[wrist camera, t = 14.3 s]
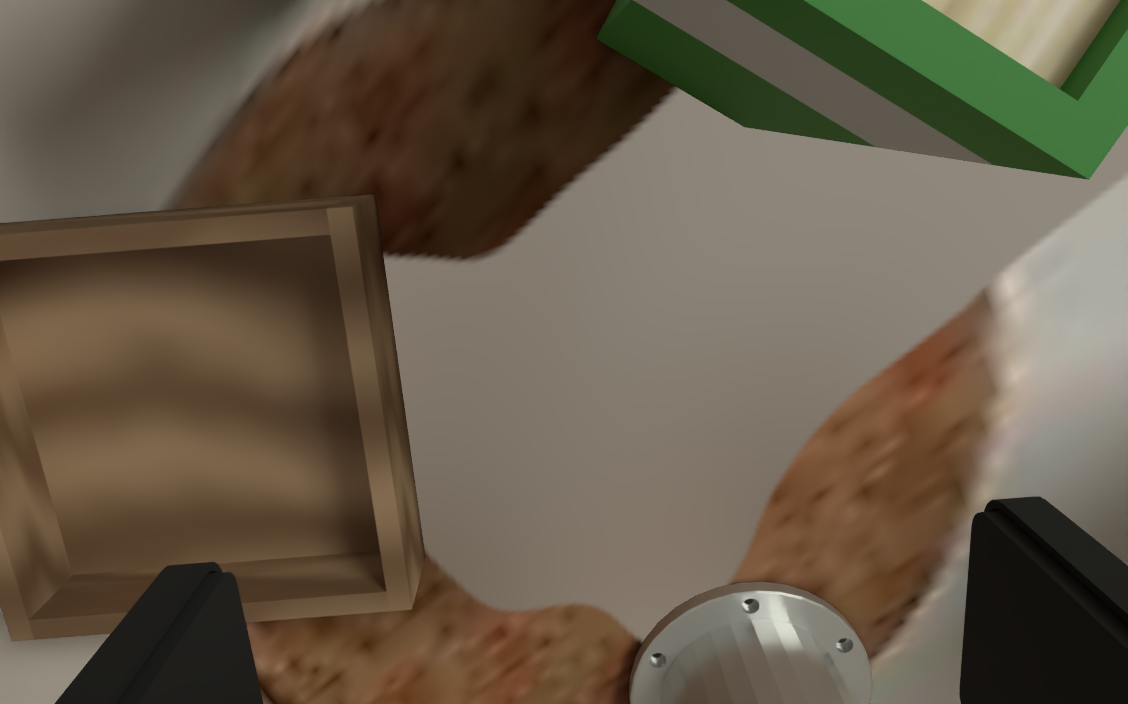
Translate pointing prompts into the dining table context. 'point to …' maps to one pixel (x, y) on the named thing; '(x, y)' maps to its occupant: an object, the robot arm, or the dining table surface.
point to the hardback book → (901, 72)
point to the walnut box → (202, 414)
